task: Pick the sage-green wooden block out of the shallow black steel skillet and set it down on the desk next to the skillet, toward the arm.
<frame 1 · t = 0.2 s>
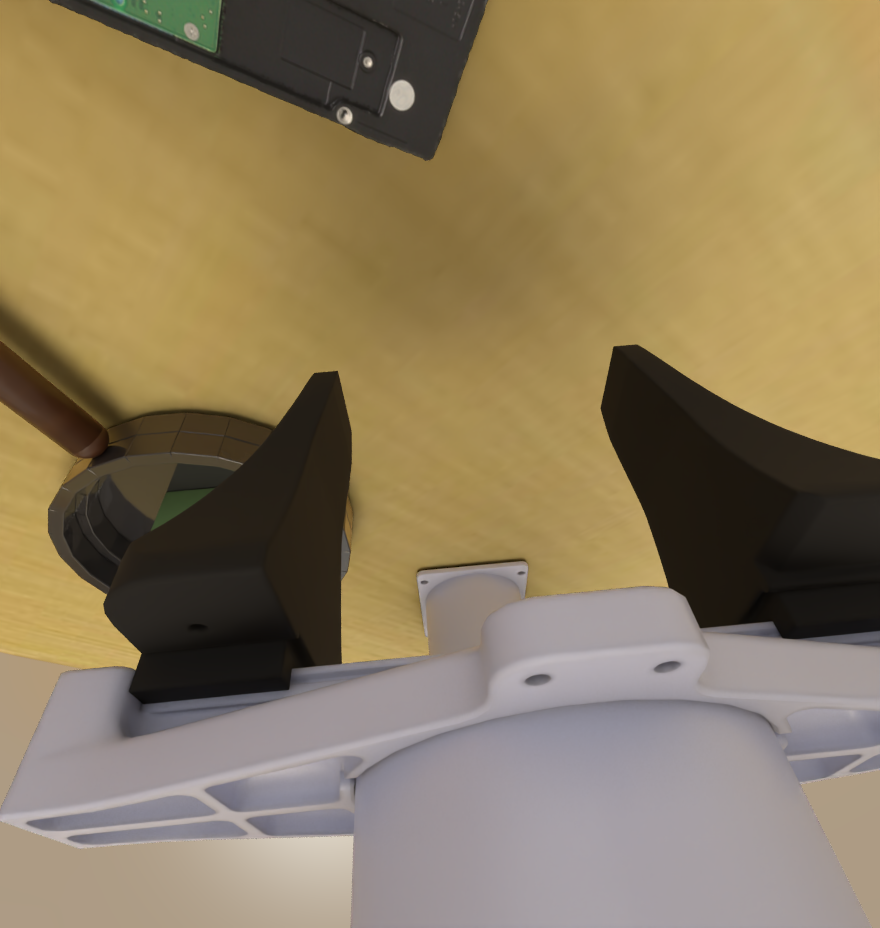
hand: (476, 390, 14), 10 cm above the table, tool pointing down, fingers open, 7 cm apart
block: (211, 546, 29), in the skillet
skillet: (221, 510, 31), on the table
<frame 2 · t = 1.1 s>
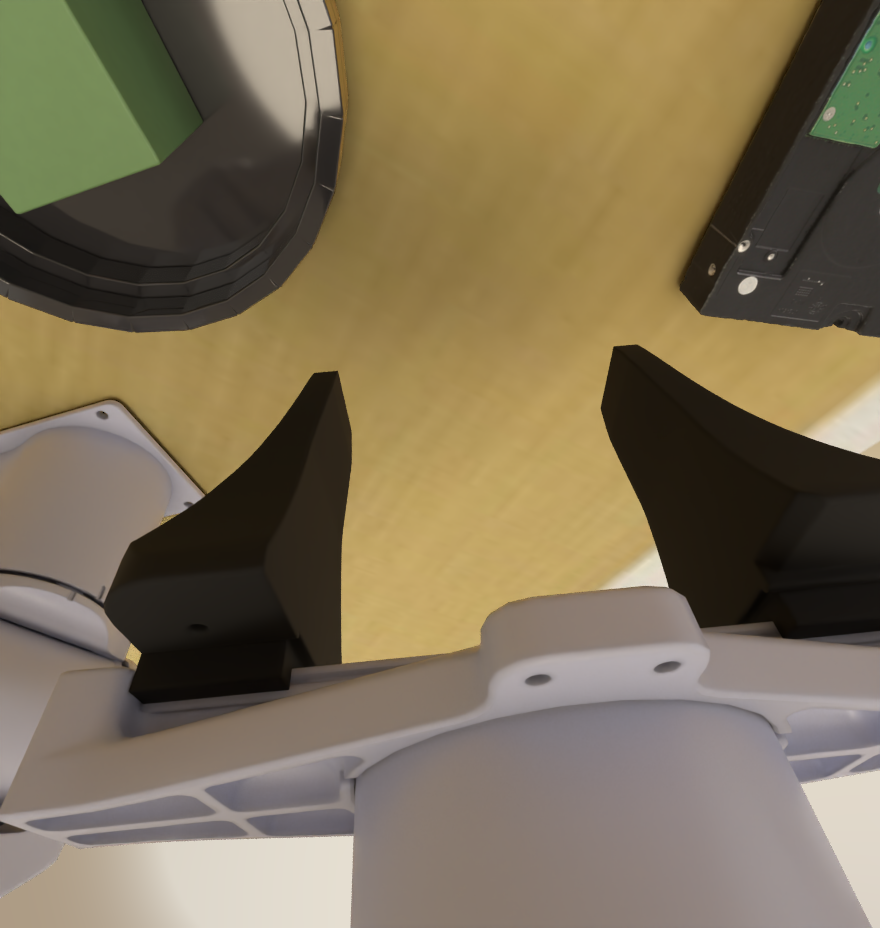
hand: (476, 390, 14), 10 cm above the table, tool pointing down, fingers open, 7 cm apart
block: (61, 77, 14), in the skillet
skillet: (99, 62, 16), on the table
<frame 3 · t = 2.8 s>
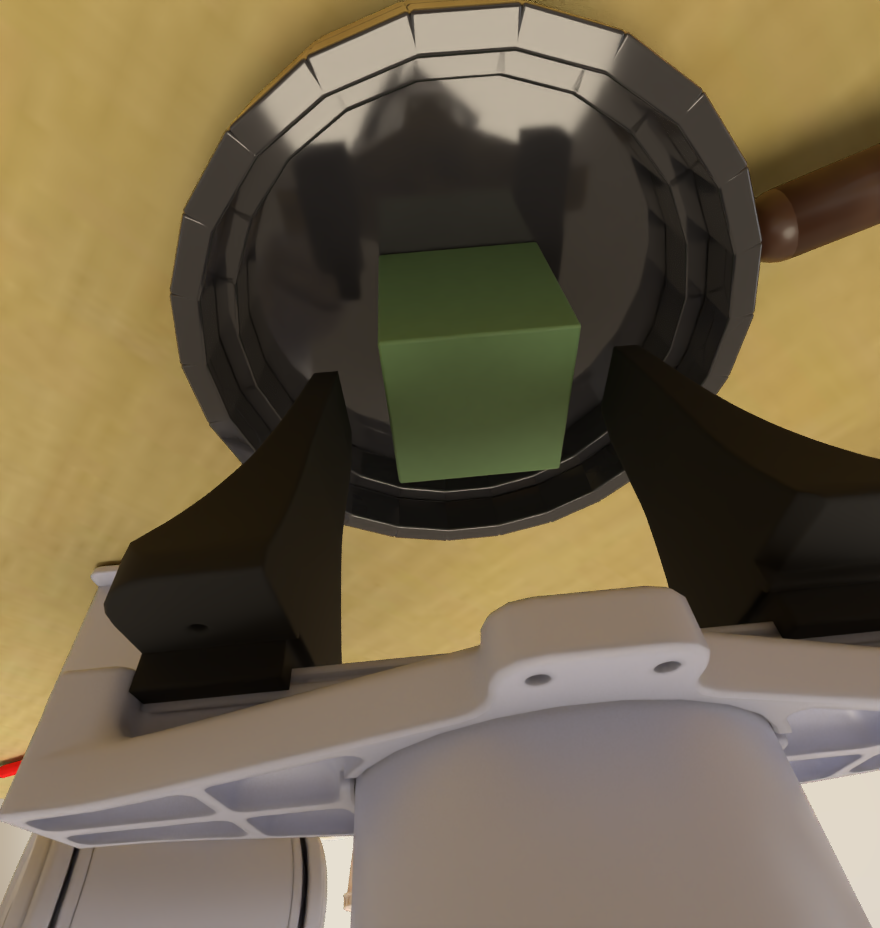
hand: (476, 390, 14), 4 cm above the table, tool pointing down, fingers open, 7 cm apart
block: (468, 361, 15), in the skillet
pen: (83, 740, 39), on the table
skillet: (458, 314, 17), on the table
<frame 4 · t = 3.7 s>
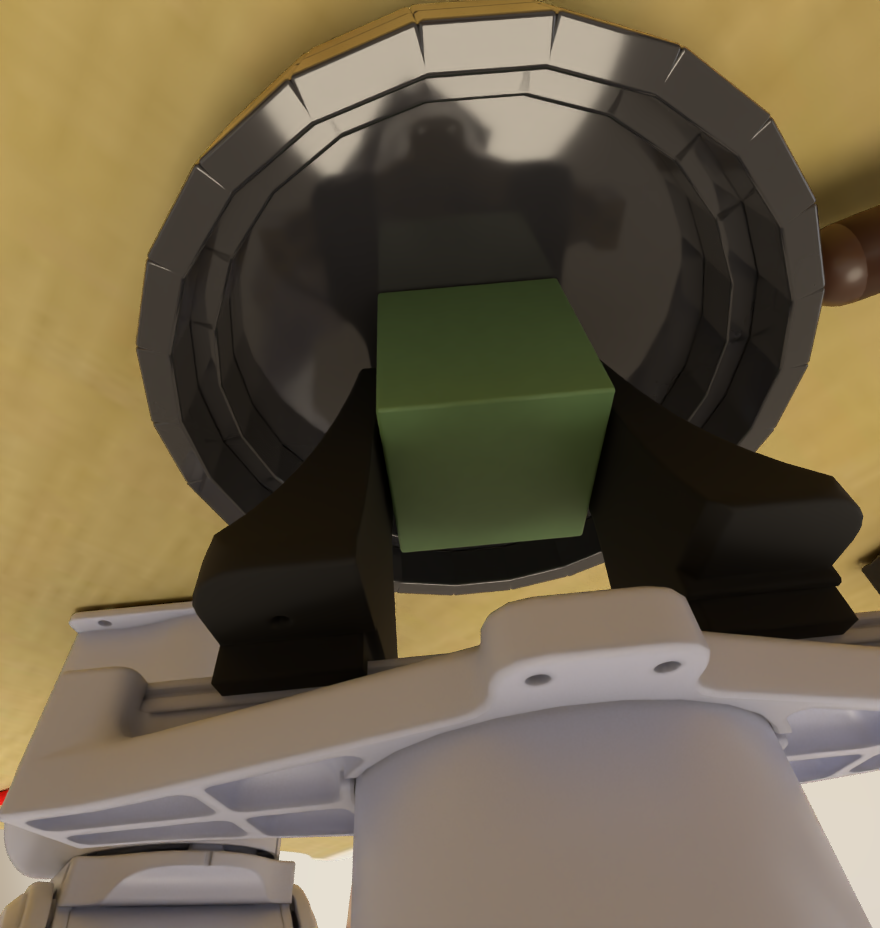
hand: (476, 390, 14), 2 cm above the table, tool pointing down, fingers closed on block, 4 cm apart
block: (479, 414, 13), in the skillet, touching gripper
skillet: (468, 354, 15), on the table
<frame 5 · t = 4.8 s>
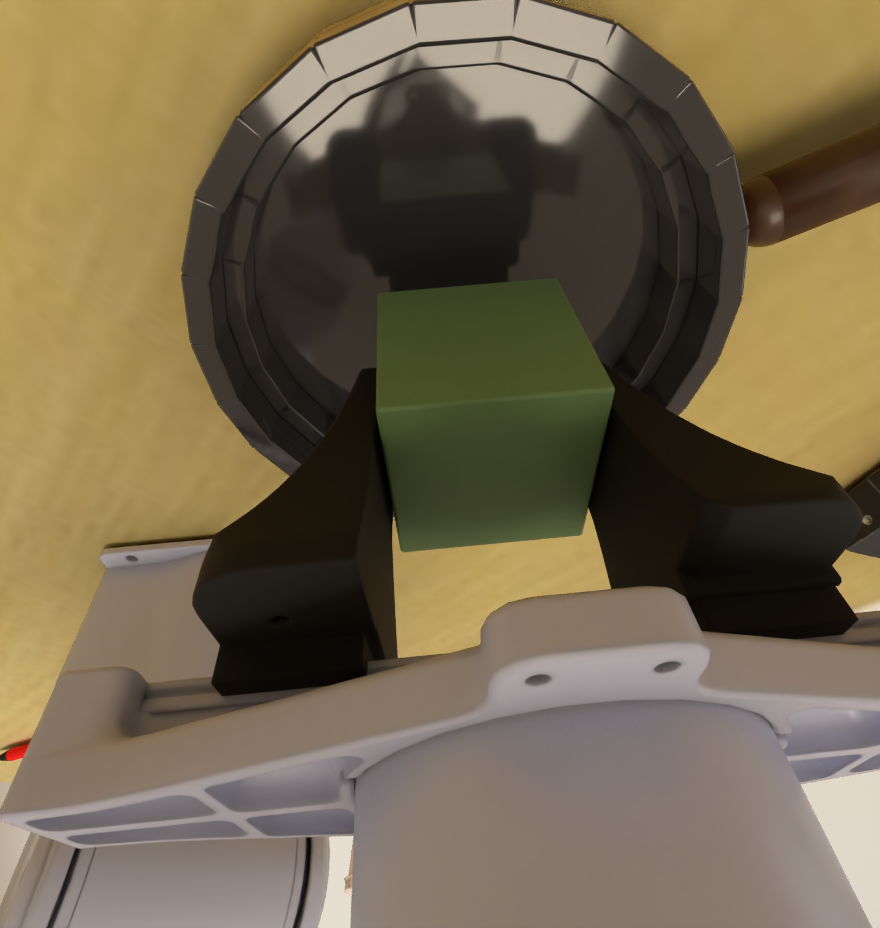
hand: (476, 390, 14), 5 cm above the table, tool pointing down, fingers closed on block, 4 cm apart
block: (479, 413, 13), point 6 cm above the table, touching gripper
pen: (90, 724, 40), on the table
skillet: (458, 299, 17), on the table
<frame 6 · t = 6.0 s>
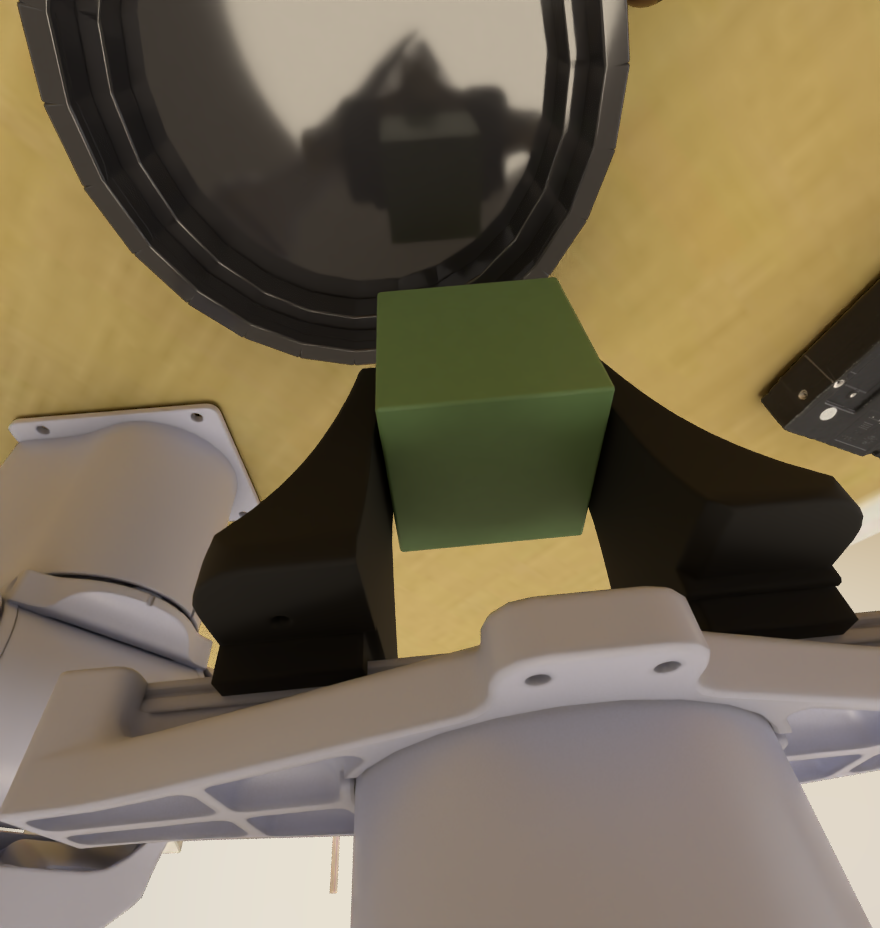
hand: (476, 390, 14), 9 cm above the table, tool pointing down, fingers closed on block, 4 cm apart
smoothie: (341, 707, 51), on the table
block: (479, 413, 13), point 10 cm above the table, touching gripper
skillet: (351, 103, 17), on the table
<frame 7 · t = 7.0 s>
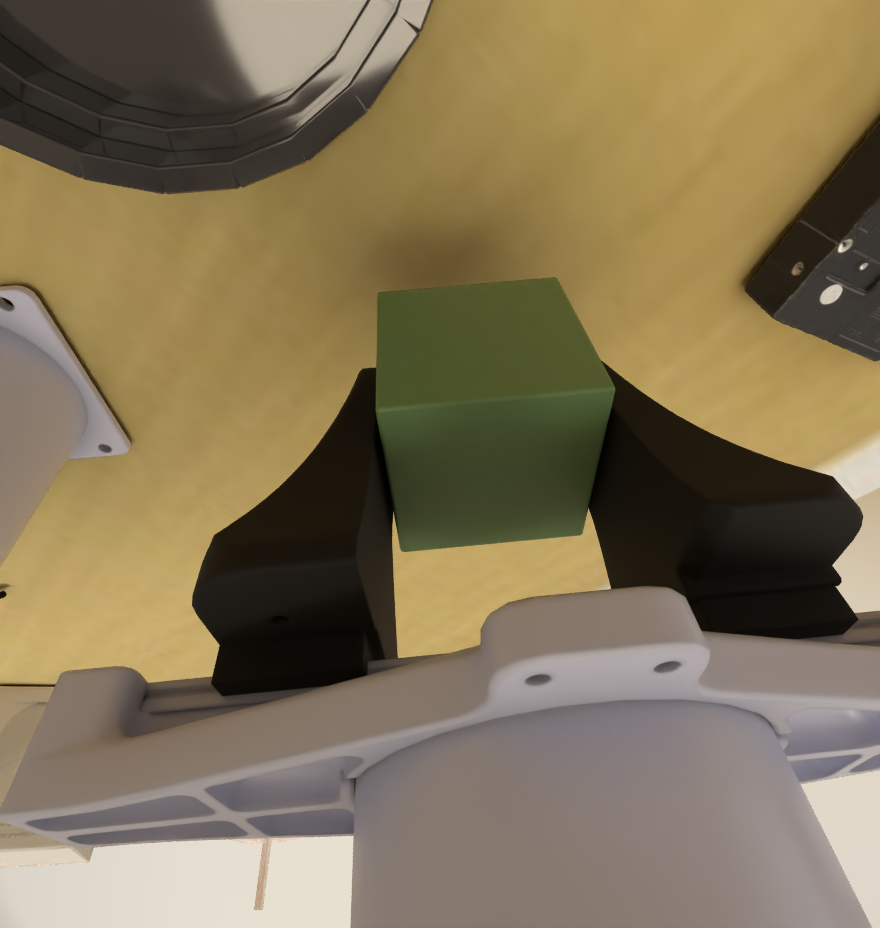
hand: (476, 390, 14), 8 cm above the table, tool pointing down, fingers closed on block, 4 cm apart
smoothie: (284, 697, 45), on the table
cosmetics box: (61, 699, 42), on the table
block: (479, 413, 13), point 9 cm above the table, touching gripper
when the fingers open (1 cm above the table, at t = 9.0 s): block stays where it is, on the table.
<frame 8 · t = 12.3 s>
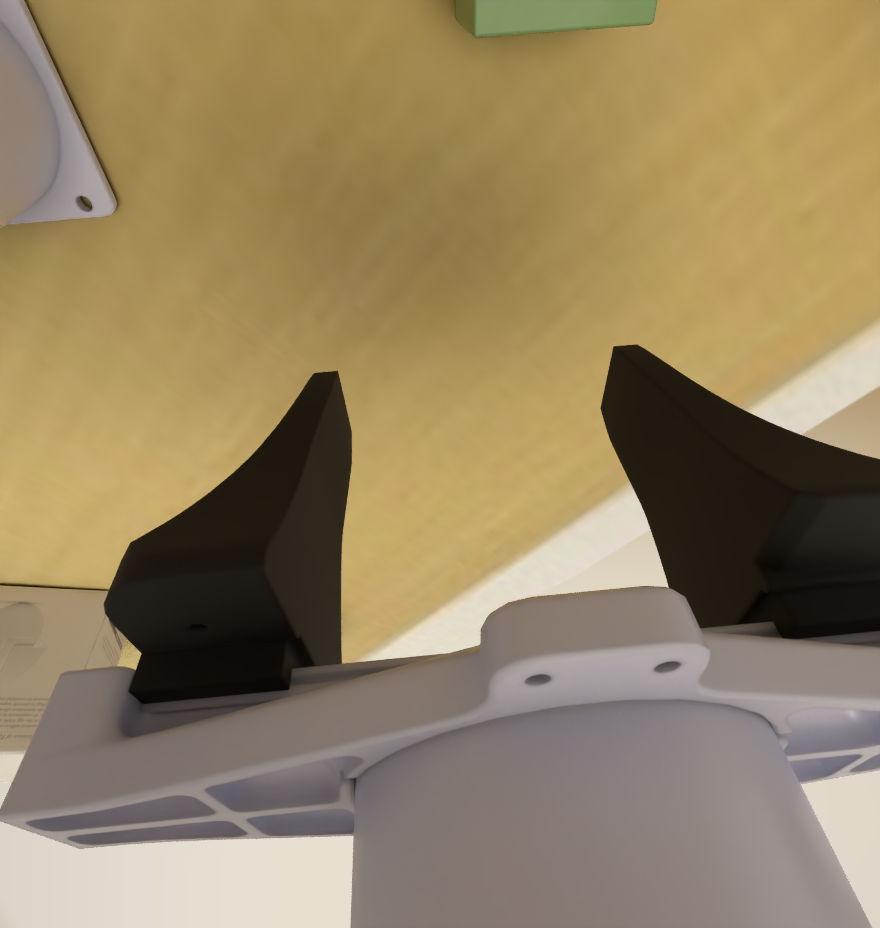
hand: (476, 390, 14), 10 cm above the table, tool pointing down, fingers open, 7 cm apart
cosmetics box: (47, 607, 38), on the table
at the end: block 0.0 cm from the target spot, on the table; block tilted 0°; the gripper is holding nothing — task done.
